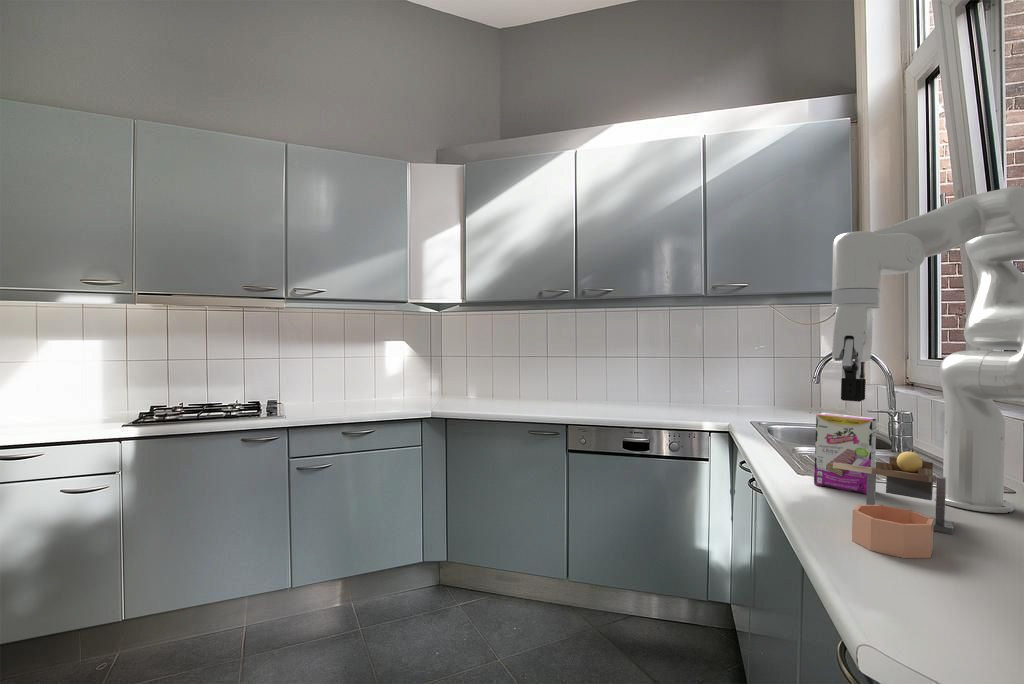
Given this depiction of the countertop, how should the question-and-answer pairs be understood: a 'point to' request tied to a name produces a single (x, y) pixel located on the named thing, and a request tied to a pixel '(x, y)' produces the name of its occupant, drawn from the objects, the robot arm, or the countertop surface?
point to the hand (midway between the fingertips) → (852, 399)
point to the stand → (939, 521)
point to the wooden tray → (900, 478)
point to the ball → (909, 462)
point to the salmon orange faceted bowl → (893, 531)
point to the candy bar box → (844, 450)
